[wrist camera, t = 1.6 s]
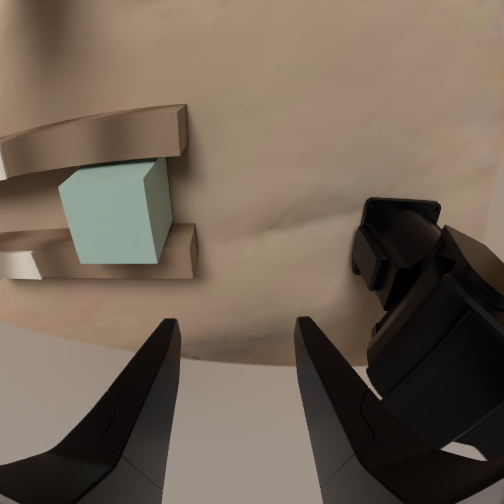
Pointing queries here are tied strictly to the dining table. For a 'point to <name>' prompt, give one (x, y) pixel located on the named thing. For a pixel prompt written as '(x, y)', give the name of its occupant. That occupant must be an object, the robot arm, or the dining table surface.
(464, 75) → the dining table surface
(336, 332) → the dining table surface
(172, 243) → the chute
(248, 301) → the dining table surface
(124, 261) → the block
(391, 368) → the robot arm
